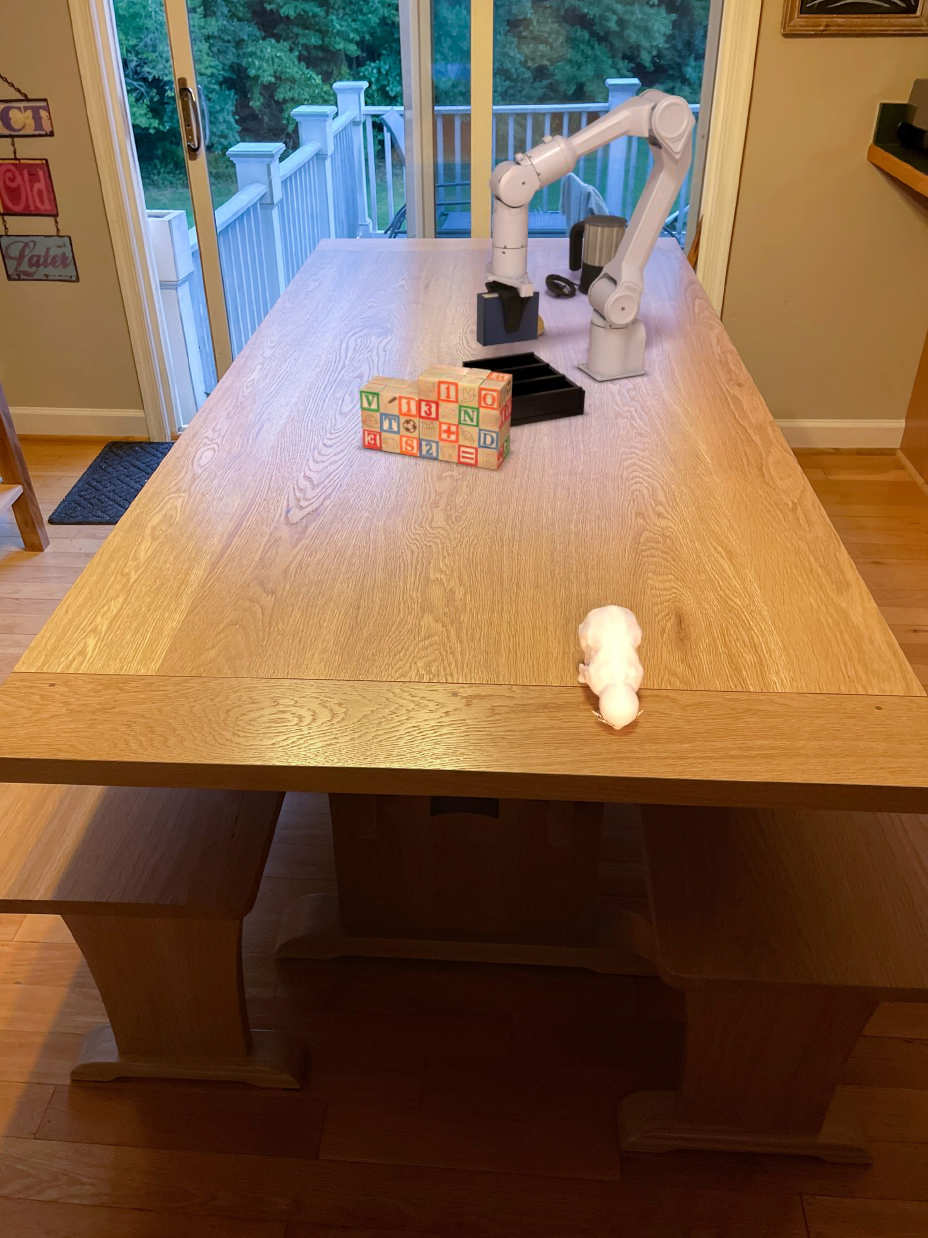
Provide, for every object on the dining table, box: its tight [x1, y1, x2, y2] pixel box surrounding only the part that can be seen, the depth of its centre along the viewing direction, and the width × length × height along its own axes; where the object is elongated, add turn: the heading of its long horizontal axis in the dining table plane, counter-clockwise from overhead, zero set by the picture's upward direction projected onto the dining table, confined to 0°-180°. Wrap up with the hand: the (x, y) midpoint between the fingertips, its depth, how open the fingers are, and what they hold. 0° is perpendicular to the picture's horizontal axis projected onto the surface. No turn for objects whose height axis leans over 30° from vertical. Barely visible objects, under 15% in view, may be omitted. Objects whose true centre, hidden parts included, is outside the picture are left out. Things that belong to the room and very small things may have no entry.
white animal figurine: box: [577, 604, 645, 730], centre depth 94 cm, size 6×8×12 cm
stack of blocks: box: [359, 363, 512, 470], centre depth 141 cm, size 21×6×12 cm, turn 71°
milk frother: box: [544, 214, 629, 298], centre depth 206 cm, size 14×16×15 cm
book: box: [476, 289, 540, 348], centre depth 162 cm, size 10×3×8 cm, turn 112°
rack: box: [461, 350, 586, 428], centre depth 159 cm, size 14×19×4 cm
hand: (507, 328), depth 163 cm, fingers closed on book, 3 cm apart
